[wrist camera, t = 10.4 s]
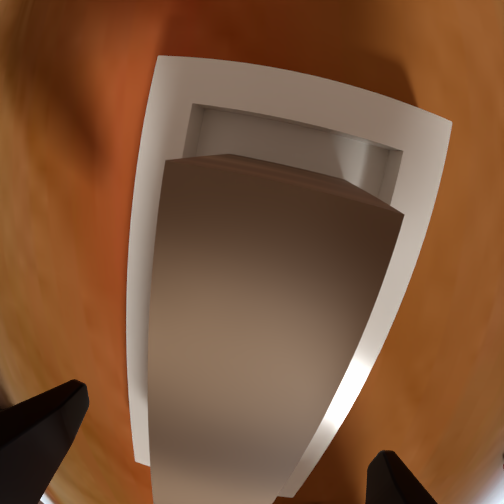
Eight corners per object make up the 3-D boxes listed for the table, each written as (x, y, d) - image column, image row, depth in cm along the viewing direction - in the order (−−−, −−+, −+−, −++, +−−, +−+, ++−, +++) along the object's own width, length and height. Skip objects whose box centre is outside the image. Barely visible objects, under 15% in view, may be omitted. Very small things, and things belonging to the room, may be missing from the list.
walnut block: (259, 446, 15) (246, 540, 9) (187, 429, 15) (155, 518, 10) (344, 179, 10) (404, 214, 5) (229, 153, 11) (165, 159, 5)
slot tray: (294, 466, 17) (292, 497, 14) (148, 433, 17) (135, 461, 15) (423, 125, 10) (452, 121, 8) (182, 71, 11) (157, 55, 8)
